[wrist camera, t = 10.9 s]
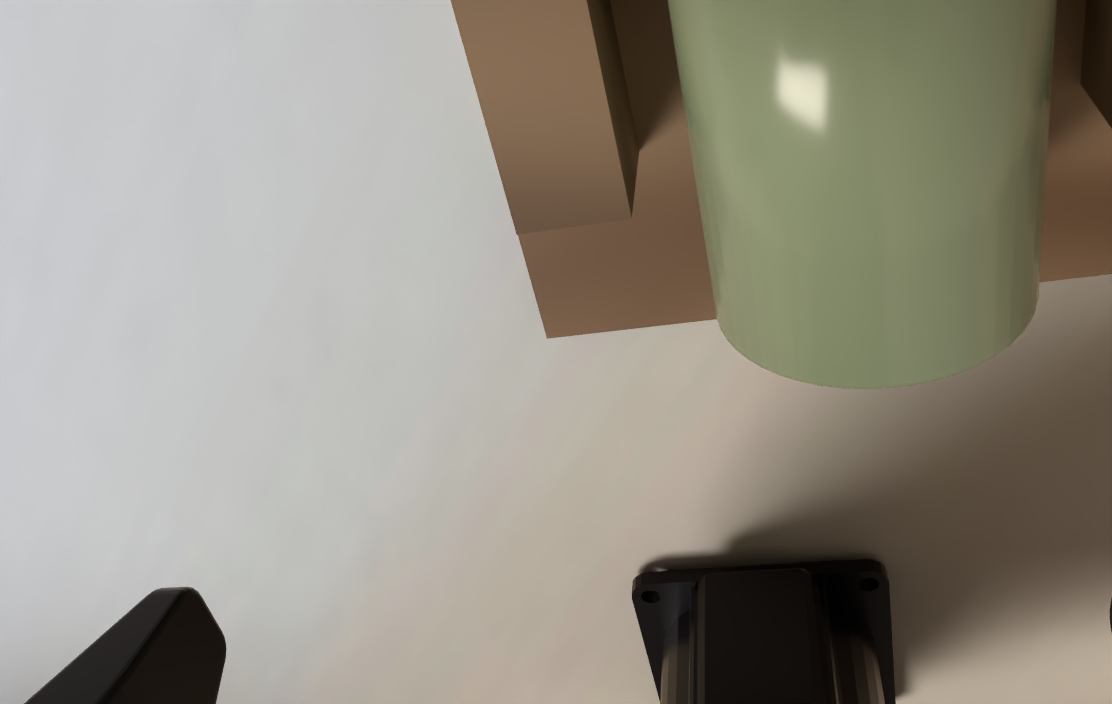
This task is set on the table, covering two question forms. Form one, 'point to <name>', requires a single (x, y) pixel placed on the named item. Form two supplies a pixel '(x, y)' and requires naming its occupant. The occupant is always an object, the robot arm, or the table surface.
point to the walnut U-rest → (666, 162)
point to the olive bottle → (869, 178)
